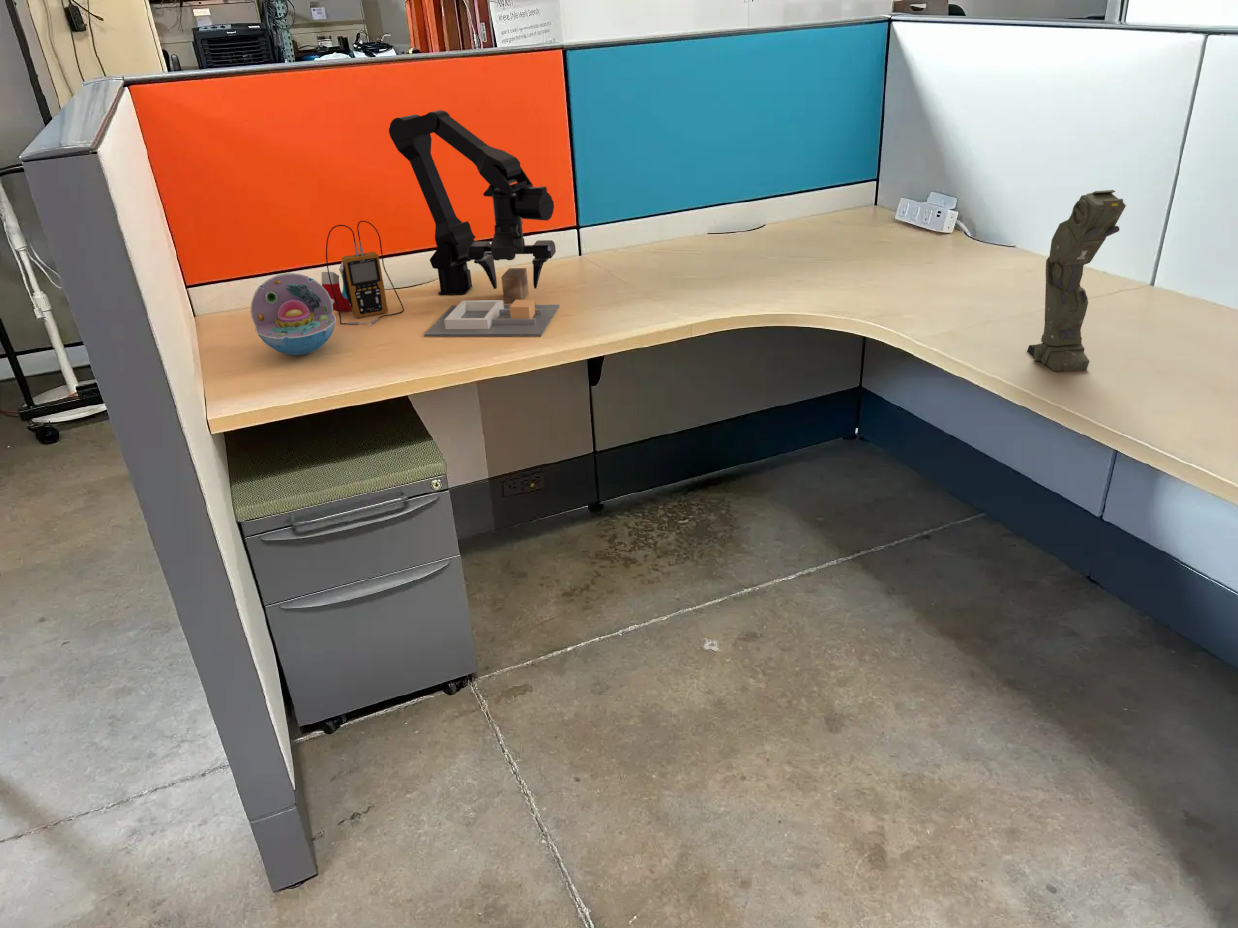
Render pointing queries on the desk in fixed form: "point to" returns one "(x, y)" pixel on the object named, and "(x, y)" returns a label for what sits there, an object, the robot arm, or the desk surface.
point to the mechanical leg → (1073, 279)
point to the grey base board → (490, 320)
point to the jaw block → (515, 284)
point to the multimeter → (363, 282)
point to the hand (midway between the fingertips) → (515, 288)
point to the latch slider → (522, 309)
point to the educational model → (293, 314)
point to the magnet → (336, 290)
